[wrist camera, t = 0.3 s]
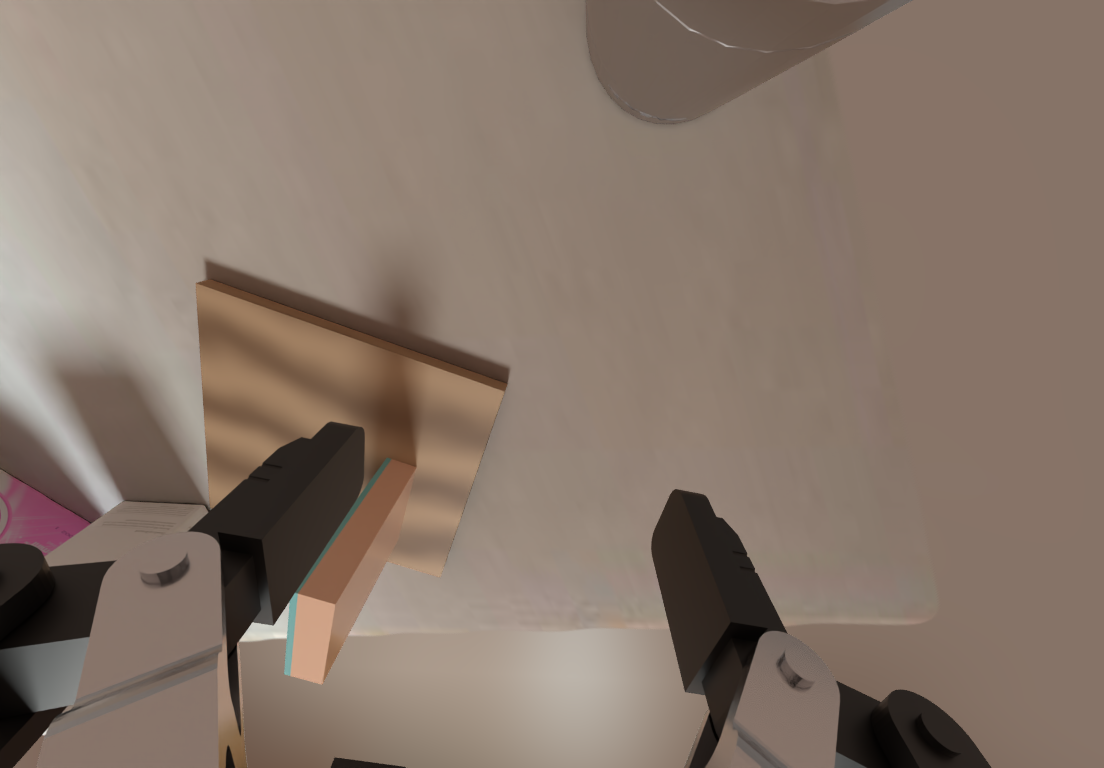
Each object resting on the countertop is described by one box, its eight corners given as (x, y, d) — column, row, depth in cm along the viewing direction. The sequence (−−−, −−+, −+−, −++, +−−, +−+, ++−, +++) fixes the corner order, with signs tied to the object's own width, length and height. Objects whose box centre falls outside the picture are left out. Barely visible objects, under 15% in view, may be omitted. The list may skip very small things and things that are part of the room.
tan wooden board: (210, 279, 28) (195, 283, 27) (507, 384, 30) (504, 391, 29) (220, 498, 38) (209, 507, 37) (443, 566, 40) (440, 577, 39)
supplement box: (120, 498, 39) (-118, 661, 26) (206, 502, 39) (6, 672, 25) (162, 562, 43) (-26, 732, 30) (240, 567, 43) (84, 743, 29)
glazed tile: (386, 457, 33) (290, 591, 22) (416, 467, 33) (335, 604, 22) (371, 530, 37) (284, 674, 26) (398, 539, 37) (322, 684, 26)
